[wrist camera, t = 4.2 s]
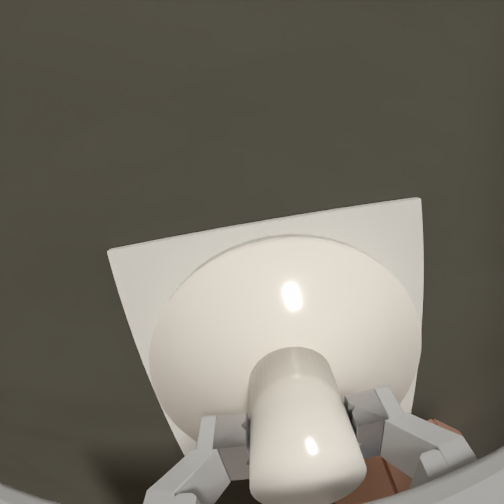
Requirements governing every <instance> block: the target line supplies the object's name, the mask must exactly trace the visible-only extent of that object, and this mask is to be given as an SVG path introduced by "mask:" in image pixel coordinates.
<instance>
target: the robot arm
mask: <svg viewBox="0 0 504 504" xmlns="http://www.w3.org/2000/svg"><path fill="white" fill-rule="evenodd" d="M344 405H345V408H346V410H347V413H348V416H349V419H350V422H351V424H352V427H353V430H354V433H355V436H356V438H357V441H358V444H359V447H360V450H361V453H362V456H363V459H366V458H370V457H374V456H378V455H380V456H381V457H382V458H383V459H385V460H386V461H388V462H389V463H391V464H392V465H393V466H395V467H396V468H398V469H399V470H401V471H402V472H404V473H405V474H406V475H408V476H409V477H411V478H412V482H411V485H410V488H409V490H406V491H403V492H400V493H397V494H394V495H391V496H387V497H384V498H381V499H377V500H374V501H370V502H367V503H363V504H504V446H502V447H501V448H499V449H497V450H495V451H494V452H492V453H490V454H488V455H486V456H484V457H482V458H480V459H477V457H476V456H475V454H474V453H473V451H472V450H471V448H470V447H469V445H468V443H467V442H466V440H465V439H464V437H463V436H461V435H459V434H456V433H454V432H452V431H449V430H447V429H444V428H442V427H440V426H437V425H435V424H433V423H430V422H428V421H426V420H424V419H421V418H419V417H417V416H415V415H412V414H410V413H407V414H404V412H403V410H402V408H401V407H400V405H399V403H398V401H397V400H396V398H395V396H394V394H393V393H392V391H391V389H390V387H389V386H388V385H383V386H380V387H376V388H373V389H369V390H366V391H362V392H358V393H354V394H350V395H345V396H344ZM249 459H250V443H249V417H248V413H235V414H222V415H211V416H203V417H202V418H201V422H200V428H199V433H198V439H197V445H196V450H191V451H190V452H189V453H188V454H187V455H186V456H185V457H184V458H183V459H181V460H180V461H179V462H178V463H177V464H176V465H175V466H174V467H173V468H172V469H170V470H169V471H168V472H167V473H166V474H165V475H164V476H163V477H162V478H160V479H159V480H158V481H157V482H156V483H155V484H154V485H152V486H151V487H150V488H149V489H148V490H147V492H146V495H145V499H144V503H143V504H215V502H216V501H217V500H218V498H219V497H220V496H221V494H222V493H223V492H224V490H225V489H226V488H227V486H228V485H229V484H230V481H232V480H243V479H250V468H249ZM0 504H63V503H59V502H55V501H52V500H49V499H45V498H42V497H39V496H36V495H33V494H30V493H27V492H24V491H21V490H19V489H16V488H13V487H11V486H8V485H6V484H3V483H1V482H0Z"/></svg>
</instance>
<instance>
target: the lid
mask: <svg viewBox="0 0 504 504" xmlns="http://www.w3.org/2000/svg"><path fill="white" fill-rule="evenodd" d="M420 354H421V329H420V322H419V318H418V315H417V312H416V308H415V306H414V304H413V302H412V300H411V298H410V296H409V294H408V293H407V291H406V290H405V289H404V287H403V286H402V284H401V283H400V282H399V281H398V280H397V279H396V278H395V277H394V276H393V275H392V274H391V273H390V272H389V271H388V270H387V269H386V268H385V267H383V266H382V265H381V264H380V263H379V262H377V261H376V260H374V259H373V258H372V257H370V256H369V255H367V254H366V253H364V252H363V251H361V250H359V249H357V248H355V247H353V246H351V245H348V244H346V243H343V242H340V241H337V240H334V239H330V238H326V237H320V236H314V235H303V234H285V235H275V236H267V237H263V238H258V239H254V240H250V241H246V242H244V243H241V244H239V245H236V246H233V247H231V248H228V249H226V250H224V251H223V252H221V253H219V254H217V255H215V256H213V257H211V258H210V259H209V260H207V261H206V262H204V263H203V264H202V265H200V266H199V267H198V268H196V269H195V270H194V271H193V272H192V273H191V274H190V275H189V276H188V277H187V278H186V279H185V280H184V281H183V282H182V283H181V284H180V285H179V287H178V288H177V289H176V291H175V292H174V293H173V295H172V296H171V298H170V299H169V301H168V303H167V305H166V306H165V308H164V310H163V312H162V314H161V316H160V317H159V319H158V321H157V324H156V326H155V329H154V332H153V335H152V339H151V345H150V350H149V370H150V376H151V382H152V385H153V388H154V391H155V394H156V396H157V398H158V400H159V402H160V404H161V406H162V408H163V409H164V411H165V412H166V413H167V415H168V416H169V418H170V419H171V420H172V421H173V422H174V423H175V424H176V425H177V426H178V428H179V429H180V430H182V431H183V432H184V433H185V434H186V435H188V436H189V437H190V438H191V439H193V440H194V441H196V442H197V439H198V433H199V428H200V422H201V418H202V417H203V416H211V415H222V414H235V413H248V417H249V443H250V459H249V468H250V492H251V494H252V496H253V497H254V498H255V499H256V500H257V501H259V502H260V503H262V504H331V503H333V502H336V501H338V500H340V499H342V498H344V497H345V496H347V495H349V494H350V493H352V492H353V491H354V490H355V489H356V488H358V486H359V485H360V484H361V483H362V482H363V480H364V478H365V476H366V472H367V468H366V464H365V461H364V459H363V456H362V453H361V450H360V447H359V444H358V441H357V438H356V436H355V433H354V430H353V427H352V424H351V422H350V419H349V416H348V413H347V410H346V408H345V405H344V396H345V395H350V394H354V393H358V392H362V391H366V390H369V389H373V388H376V387H380V386H383V385H388V386H389V387H390V389H391V391H392V393H393V394H394V396H395V398H396V400H397V401H398V403H399V404H400V403H401V402H402V400H403V399H404V397H405V395H406V394H407V392H408V390H409V388H410V386H411V384H412V382H413V380H414V378H415V374H416V371H417V368H418V365H419V360H420Z"/></svg>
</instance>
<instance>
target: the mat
mask: <svg viewBox="0 0 504 504" xmlns="http://www.w3.org/2000/svg"><path fill="white" fill-rule="evenodd" d="M285 234H303V235H314V236H320V237H326V238H330V239H334V240H337V241H340V242H343V243H346V244H348V245H351V246H353V247H355V248H357V249H359V250H361V251H363V252H364V253H366V254H367V255H369V256H370V257H372V258H373V259H374V260H376V261H377V262H379V263H380V264H381V265H382V266H383V267H385V268H386V269H387V270H388V271H389V272H390V273H391V274H392V275H393V276H394V277H395V278H396V279H397V280H398V281H399V282H400V283H401V284H402V286H403V287H404V289H405V290H406V291H407V293H408V294H409V296H410V298H411V300H412V302H413V304H414V306H415V308H416V312H417V315H418V318H419V322H420V329H421V327H422V311H423V279H424V255H423V224H422V207H421V198H417V197H414V198H407V199H400V200H392V201H385V202H378V203H371V204H365V205H358V206H351V207H344V208H338V209H331V210H325V211H319V212H312V213H306V214H300V215H294V216H287V217H281V218H275V219H269V220H263V221H257V222H252V223H246V224H240V225H234V226H229V227H223V228H217V229H212V230H206V231H201V232H195V233H190V234H184V235H179V236H174V237H168V238H163V239H158V240H153V241H148V242H142V243H137V244H132V245H127V246H122V247H117V248H112V249H110V250H108V251H107V254H108V258H109V261H110V265H111V268H112V272H113V275H114V279H115V282H116V286H117V289H118V292H119V295H120V299H121V302H122V305H123V308H124V311H125V314H126V317H127V320H128V323H129V326H130V329H131V332H132V335H133V337H134V340H135V343H136V346H137V348H138V351H139V354H140V356H141V359H142V362H143V364H144V367H145V369H146V372H147V374H148V377H149V379H150V382H151V376H150V370H149V350H150V345H151V339H152V335H153V332H154V329H155V326H156V324H157V321H158V319H159V317H160V316H161V314H162V312H163V310H164V308H165V306H166V305H167V303H168V301H169V299H170V298H171V296H172V295H173V293H174V292H175V291H176V289H177V288H178V287H179V285H180V284H181V283H182V282H183V281H184V280H185V279H186V278H187V277H188V276H189V275H190V274H191V273H192V272H193V271H194V270H195V269H196V268H198V267H199V266H200V265H202V264H203V263H204V262H206V261H207V260H209V259H210V258H211V257H213V256H215V255H217V254H219V253H221V252H223V251H224V250H226V249H228V248H231V247H233V246H236V245H239V244H241V243H244V242H246V241H250V240H254V239H258V238H263V237H267V236H275V235H285ZM417 369H418V368H417ZM416 377H417V371H416V374H415V378H414V380H413V382H412V384H411V386H410V388H409V390H408V392H407V394H406V395H405V397H404V399H403V400H402V402H401V403H400V404H399V405H400V407H401V408H402V410H403V412H404V414H407V413H410V414H411V410H412V404H413V398H414V392H415V385H416ZM151 384H152V382H151ZM152 387H153V385H152ZM153 389H154V388H153ZM158 401H159V400H158ZM159 403H160V402H159ZM160 405H161V404H160ZM161 407H162V406H161ZM162 410H163V412H164V414H165V416H166V419H167V421H168V423H169V425H170V427H171V429H172V431H173V434H174V436H175V438H176V440H177V442H178V444H179V446H180V448H181V450H182V452H183V454H184V456H186V455H187V454H188V453H189V452H190V451H191V450H196V445H197V442H196V441H194V440H193V439H191V438H190V437H189V436H188V435H186V434H185V433H184V432H183V431H182V430H180V429H179V428H178V426H177V425H176V424H175V423H174V422H173V421H172V420H171V419H170V418H169V416H168V415H167V413H166V412H165V411H164V409H163V408H162Z"/></svg>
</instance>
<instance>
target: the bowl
mask: <svg viewBox="0 0 504 504" xmlns="http://www.w3.org/2000/svg"><path fill="white" fill-rule="evenodd" d="M427 421H428V422H430V423H433V424H435V425H437V426H440V427H442V428H444V429H447V430H449V431H452V432H454V433H456V434H459V435H461V436H462V434H461V433H460V431H458V430H456V429H454V428H452V427H450V426H448V425H446V424H444V423H442V422H440V421H438V420H436V419H433V420H432V419H429V420H427ZM469 447H470V446H469ZM471 450H472V449H471ZM364 461H365V464H366V468H367V472H366V476H365V478H364V480H363V482H362V483H361V484H360V485H359V486H358V488H356V489H355V490H354V491H353V492H352V493H350V494H349V495H347V496H345V497H344V498H342V499H340V500H338V501H336V502H333V503H331V504H363V503H367V502H370V501H374V500H377V499H381V498H384V497H387V496H391V495H394V494H397V493H400V492H403V491H406V490H409V488H410V485H411V482H412V478H411V477H409V476H408V475H406V474H405V473H404V472H402V471H401V470H399V469H398V468H396V467H395V466H393V465H392V464H391V463H389V462H388V461H386V460H385V459H383V458H382V457H381V456H380V455H378V456H374V457H370V458H366V459H364Z"/></svg>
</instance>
